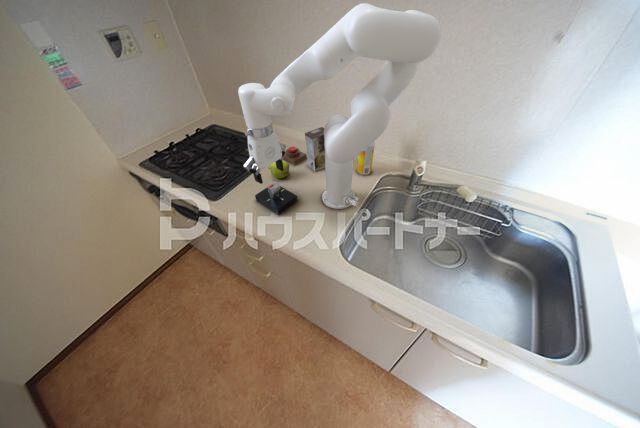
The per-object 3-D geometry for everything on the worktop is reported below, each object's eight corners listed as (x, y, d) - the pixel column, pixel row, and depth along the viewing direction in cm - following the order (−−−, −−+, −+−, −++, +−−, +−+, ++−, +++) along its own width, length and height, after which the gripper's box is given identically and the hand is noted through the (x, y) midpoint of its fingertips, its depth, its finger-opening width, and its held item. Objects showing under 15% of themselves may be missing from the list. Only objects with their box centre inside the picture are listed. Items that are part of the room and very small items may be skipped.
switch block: (306, 158, 114) (305, 150, 111) (294, 165, 110) (293, 158, 107) (292, 151, 119) (291, 144, 116) (280, 158, 115) (279, 151, 112)
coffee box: (323, 159, 113) (322, 126, 102) (331, 165, 109) (331, 131, 98) (307, 165, 110) (304, 132, 98) (315, 172, 106) (312, 138, 94)
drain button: (297, 151, 112) (297, 148, 111) (292, 154, 110) (292, 151, 109) (292, 149, 114) (292, 145, 113) (287, 152, 112) (286, 148, 111)
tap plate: (297, 201, 92) (296, 195, 90) (278, 215, 87) (277, 209, 85) (275, 188, 99) (274, 182, 96) (256, 201, 93) (254, 194, 91)
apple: (270, 172, 107) (267, 156, 101) (290, 170, 107) (288, 155, 102) (269, 182, 101) (265, 167, 96) (290, 180, 102) (288, 165, 96)
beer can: (367, 166, 107) (370, 135, 96) (373, 173, 103) (377, 142, 92) (354, 169, 106) (357, 138, 95) (360, 177, 102) (363, 145, 91)
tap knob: (276, 190, 93) (273, 179, 89) (283, 194, 91) (281, 183, 87) (267, 195, 91) (264, 184, 87) (275, 200, 88) (272, 189, 85)
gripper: (244, 144, 66) (257, 191, 78) (289, 122, 75) (294, 168, 87) (229, 136, 69) (243, 183, 82) (273, 116, 79) (280, 161, 91)
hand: (270, 175), depth 84 cm, fingers open, 9 cm apart
